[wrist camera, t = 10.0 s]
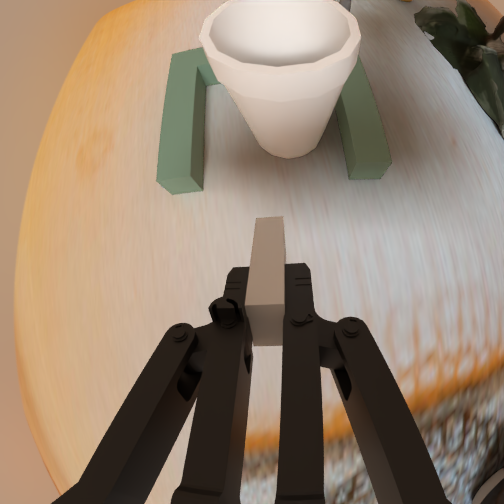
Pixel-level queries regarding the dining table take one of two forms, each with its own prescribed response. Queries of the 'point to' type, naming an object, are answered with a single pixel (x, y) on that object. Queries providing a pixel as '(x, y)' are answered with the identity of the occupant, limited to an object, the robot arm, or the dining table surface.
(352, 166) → the putting pocket
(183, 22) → the dining table surface
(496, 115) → the rose bouquet
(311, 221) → the dining table surface
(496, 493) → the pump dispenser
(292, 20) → the foam cup
